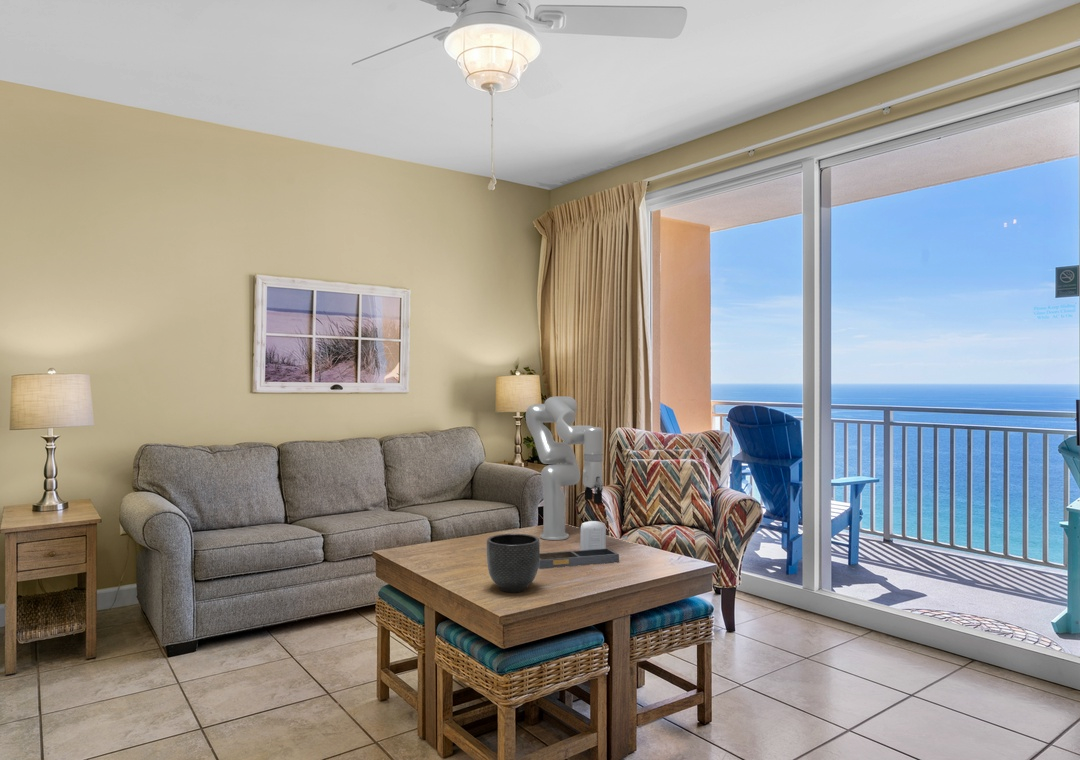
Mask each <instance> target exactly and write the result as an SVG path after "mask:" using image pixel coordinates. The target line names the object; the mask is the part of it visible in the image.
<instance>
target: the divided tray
mask: <svg viewBox="0 0 1080 760" xmlns="http://www.w3.org/2000/svg"><path fill="white" fill-rule="evenodd" d="M614 562H617V563H620V554H619V553H618V552H616V551H614V550H612V548H608V547H606V548H604V549H591V550H580V549H579V550H568V551H555V552H554V551H553V552H541V553H539V565H538V570H541V569H543V570H544V569H554V567H557V568H566V567H565V566H569V567H579V566H578V565H581V566H589V565H590V564H593V565H602V564H603V565H604V563H605V564H614ZM590 566H591V565H590Z"/></svg>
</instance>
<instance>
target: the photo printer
mask: <svg viewBox="0 0 1080 760" xmlns="http://www.w3.org/2000/svg"><path fill="white" fill-rule="evenodd" d="M579 538H580V539H579V540H580V541H579V542H580V543H579V544H580V547H579V548H580V549H579V550H591V549H604V548H607V527H606V523H604V522H602V521H599V520H590V521H584V522H582V523H581V525H580V537H579Z"/></svg>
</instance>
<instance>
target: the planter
mask: <svg viewBox="0 0 1080 760" xmlns="http://www.w3.org/2000/svg"><path fill="white" fill-rule="evenodd" d="M540 545H541V541H540V537H538V536H535V535H532V534H525V533H503V534H496V535H492V536H489V537H488V538H487V539H486V561H487V570H488V574H489V576H490V579H491V580H492V582H493V584H495V585H496V586H497V587H498V589H499V590H500V591H502V592H504V593H519V592H524V591H526V590H527V589H528V587H529V585H530V584H532V582H533V581H534V580H535V578H536V576H537V574H538V571H539V568H538V565H539V553H540V551H541V550H540V548H541V546H540Z"/></svg>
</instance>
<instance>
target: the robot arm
mask: <svg viewBox="0 0 1080 760" xmlns="http://www.w3.org/2000/svg"><path fill="white" fill-rule="evenodd" d="M577 410H578V404H577V401H576V399H575V398H573V397H571V396H568V395H567V396H563V395H562V396H559V395H558V396H556V395H555V396H554V395H553V396H550V397H548V398H546V400H545V401H544V403H537V404H532V405H529V406H528V407H527V409H526V411H525V422H526V426H527V429H528V430H529V432H530V435H531V436H532V438H533V442H534V445H535V447H536V448H535V449H536V452H537V456H538V458H539V461H540V462H541V463H542V464H543V465H544V464H545V465H546V466H544V467H543V468H542V470H541V473H540V478H541V483H542V492H543V500H542V501H543V525H542V526H543V530H542V531H543V532H541V533H540V534H539V539H542V540H548V541H561V540H562V541H563V540H566V539H569V537H570V534H569V533H568V532H566V495H565V493H564V491H563V490H562V488H561V487H565V486H574V485H578V483H579V482H580V481H581V472H580V471H581V470H580V467H579V464H578V460H577V458H576V454H575V452H574V449H573V447H572V445H573V446H574V445H583V468H582V469H583V471H582V485H583V486H584V500H586V501H588V500H593V504H595V505H597V504H598V505H600V504H602V503H603V489H604V487H603V486H604V482H603V465H602V463H603V462H604V461H603V459H604V455H603V454H604V443H603V442H604V440H603V439H604V430H603V429H602V427H599V426H592V425H574V422H575V421H576V412H577ZM544 423H545V424H547V423H555V431H556V434H557V436H558V437H559V438H560V440H562V441H555V440H554V436H553V433H552V431H551V430H550V429H549V428H548V427H547V426H546V425H545V424H544ZM593 491H594V493H593Z"/></svg>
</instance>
